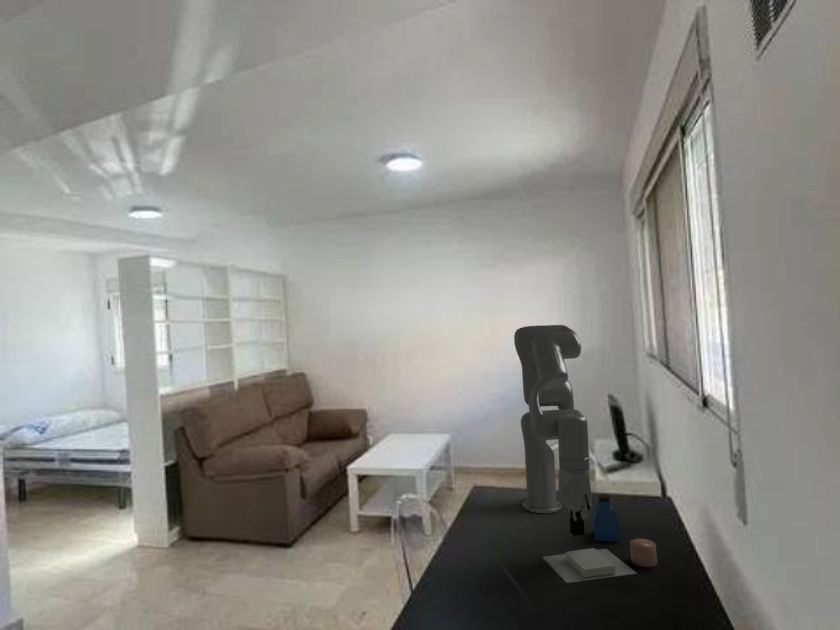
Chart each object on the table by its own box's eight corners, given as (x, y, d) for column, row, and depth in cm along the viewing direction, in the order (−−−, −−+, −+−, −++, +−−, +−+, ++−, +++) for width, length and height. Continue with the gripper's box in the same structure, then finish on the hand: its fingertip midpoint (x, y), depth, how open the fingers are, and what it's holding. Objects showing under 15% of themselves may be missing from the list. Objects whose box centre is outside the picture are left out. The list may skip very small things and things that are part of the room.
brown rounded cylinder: (627, 559, 134) (625, 539, 134) (650, 557, 134) (648, 537, 134) (638, 570, 128) (636, 549, 128) (662, 567, 128) (660, 547, 128)
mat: (542, 559, 136) (542, 556, 136) (606, 550, 139) (606, 548, 139) (566, 585, 122) (566, 583, 122) (637, 575, 125) (637, 573, 125)
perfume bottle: (619, 544, 143) (617, 500, 143) (596, 543, 144) (594, 499, 144) (615, 534, 149) (614, 492, 149) (593, 533, 150) (591, 492, 150)
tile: (565, 551, 134) (584, 569, 124) (594, 548, 135) (615, 565, 125) (565, 559, 134) (584, 578, 124) (594, 555, 135) (615, 574, 125)
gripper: (548, 457, 142) (551, 525, 142) (574, 472, 128) (577, 548, 127) (574, 455, 144) (577, 522, 143) (602, 469, 129) (605, 544, 129)
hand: (577, 534), depth 135 cm, fingers closed
